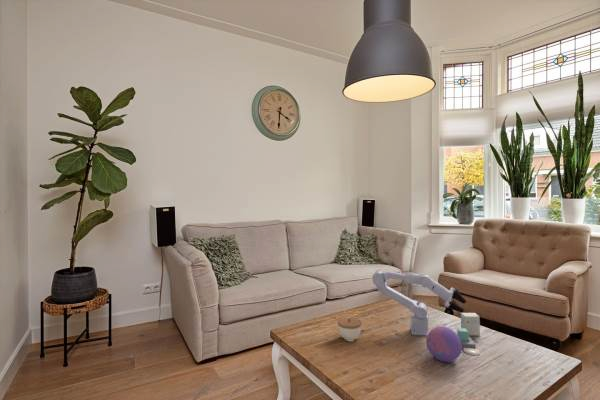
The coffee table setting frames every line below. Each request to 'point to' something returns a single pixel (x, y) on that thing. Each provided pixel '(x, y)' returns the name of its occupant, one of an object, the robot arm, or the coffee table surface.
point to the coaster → (471, 351)
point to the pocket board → (468, 343)
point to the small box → (471, 323)
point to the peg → (462, 334)
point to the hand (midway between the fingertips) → (464, 306)
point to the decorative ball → (443, 344)
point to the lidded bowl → (349, 328)
